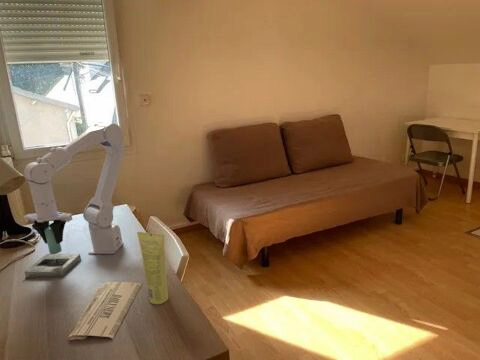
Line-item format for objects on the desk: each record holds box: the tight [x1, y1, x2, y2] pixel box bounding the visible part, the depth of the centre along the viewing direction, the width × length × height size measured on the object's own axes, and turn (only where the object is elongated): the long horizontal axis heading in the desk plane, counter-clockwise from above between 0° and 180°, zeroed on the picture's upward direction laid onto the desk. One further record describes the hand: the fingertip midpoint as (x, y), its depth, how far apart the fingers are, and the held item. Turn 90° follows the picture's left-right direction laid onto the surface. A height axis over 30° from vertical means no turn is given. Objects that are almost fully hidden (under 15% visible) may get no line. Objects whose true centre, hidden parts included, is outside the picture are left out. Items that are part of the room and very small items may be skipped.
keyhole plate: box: [24, 253, 82, 279], centre depth 115 cm, size 12×11×2 cm
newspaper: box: [67, 281, 142, 341], centre depth 93 cm, size 23×12×2 cm, turn 177°
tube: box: [137, 231, 169, 305], centre depth 93 cm, size 6×5×20 cm
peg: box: [44, 227, 62, 254], centre depth 112 cm, size 3×3×8 cm
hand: (54, 242), depth 112 cm, fingers closed on peg, 3 cm apart
